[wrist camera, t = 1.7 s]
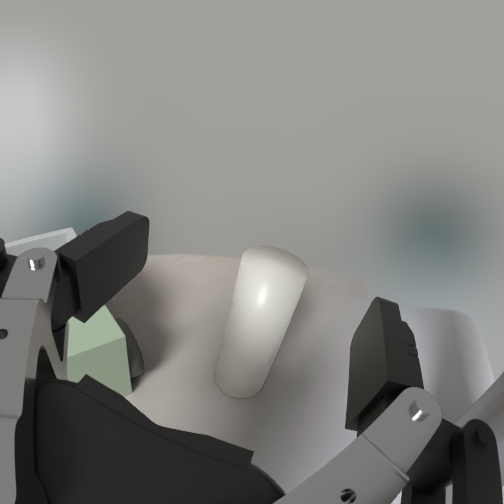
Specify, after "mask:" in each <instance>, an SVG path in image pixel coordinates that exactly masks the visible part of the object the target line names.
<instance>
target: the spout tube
mask: <svg viewBox="0 0 504 504" xmlns="http://www.w3.org/2000/svg"><path fill="white" fill-rule="evenodd" d="M308 275H309V271H308V268H307V266H306V264H305V263H304V262H303V261H302V260H301V259H300V258H298V257H297V256H295V255H294V254H292V253H290V252H288V251H285V250H282V249H280V248H276V247H270V246H256V247H252V248H249V249H248V250H246V251H245V252H244V253H243V255H242V259H241V263H240V267H239V271H238V276H237V280H236V284H235V288H234V293H233V297H232V301H231V305H230V310H229V314H228V318H227V322H226V327H225V331H224V335H223V340H222V344H221V348H220V353H219V357H218V361H217V366H216V370H215V381H216V384H217V386H218V387H219V388H220V389H221V390H222V391H223V392H224V393H226V394H227V395H229V396H232V397H235V398H249V397H252V396H254V395H256V394H257V393H258V392H259V391H260V390H261V389H262V386H263V384H264V382H265V380H266V377H267V375H268V373H269V371H270V368H271V366H272V364H273V361H274V359H275V357H276V354H277V352H278V350H279V347H280V345H281V343H282V340H283V338H284V336H285V333H286V331H287V328H288V326H289V323H290V321H291V318H292V316H293V314H294V311H295V309H296V306H297V303H298V301H299V298H300V296H301V293H302V291H303V288H304V286H305V283H306V280H307V278H308Z"/></svg>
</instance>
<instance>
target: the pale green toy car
mask: <svg viewBox="0 0 504 504" xmlns="http://www.w3.org/2000/svg"><path fill="white" fill-rule="evenodd" d="M75 237H77V236H76V234H75V232H74V230H73V228H67V229H63V230H58V231H54V232H50V233H45V234H41V235H37V236H33V237H29V238H25V239H20V240H17V241H13V242H9V243H5V248H6V253H7V254H10V255H14V256H19V255H20V254H21V253H23V252H24V251H26V250H29V249H32V248H38V247H43V248H48V249H51V250H53V251H55V250H56V249H58V248H59V247H61V246H63V245H64V244H66V243H67V242H69V241H71V240H72V239H74V238H75ZM68 323H69V336H68V351H67V377H68V380H69V381H73V382H77V383H78V382H79V381H80V380H81V379H82V378H83V376H84V375H85V374H87V375H89V376H90V377H92V378H94V379H95V380H97V381H99V382H100V383H102V384H104V385H105V386H107V387H109V388H110V389H112V390H114V391H116V392H118V393H119V394H121V395H122V396H123V397H124V396H126V395H128V394H130V393H132V387H131V380H130V379H132V378H134V377H136V376H139V375H141V374H143V373H144V363H143V359H142V355H141V352H140V350H139V347H138V345H137V342H136V340H135V338H134V336H133V334H132V332H131V330H130V329H129V327H128V326H127V324H126V323H125V322H124V321H123V320H122V319H120V318H118V319H115V320H114V318H113V316H112V315H111V313H110V312H109V310H108V308H107V307H106V305H105V304H104V305H103V306H102V307H101V308H100V309H99V310H98V311H97V312H96V313H95V314H94V315H93V316H92V317H91V318H90V319H89V320H88V321H87V322H86V323H83V322H81V321H79V320H78V319H76V318H74V317H73V316H72V317H71V318H70V319H69V320H68Z"/></svg>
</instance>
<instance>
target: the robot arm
mask: <svg viewBox="0 0 504 504" xmlns="http://www.w3.org/2000/svg"><path fill="white" fill-rule="evenodd" d="M148 236H149V219H148V218H147V217H146V216H142V215H140V214H137V213H134V212H131V211H127V212H125V213H123V214H122V215H120V216H118V217H116V218H115V219H113V220H109V221H105V222H102V223H99V224H97V225H96V226H94V227H92V228H90V230H87V231H85V232H84V233H82V235H79V236H77V237H75V238H74V239H72V240H71V241H69V242H67V243H66V244H64V245H63V246H61V247H59V248H58V249H56V250H55V251H53V250H51V249H48V248H43V247H38V248H32V249H29V250H26V251H24V252H23V253H21V254H20V255H19V256H14V255H10V254H7V253H6V248H5V243H4V240H3V239H1V238H0V504H391V503H392V501H393V500H394V499H395V498H396V497H397V495H398V494H399V493H400V492H401V490H402V497H401V504H503V498H502V486H504V372H503V373H502V374H501V375H500V377H499V378H498V379H497V380H496V381H495V382H494V383H493V384H492V385H491V387H490V388H489V389H488V390H487V391H486V392H485V393H484V394H483V395H482V396H481V397H480V398H479V399H478V400H477V401H476V402H475V403H474V404H473V405H472V406H471V407H470V408H469V409H468V410H467V411H466V412H465V413H464V414H462V415H461V416H460V417H459V418H458V419H457V420H456V421H455V422H454V423H453V424H452V423H450V422H449V421H447V420H445V419H443V418H442V411H441V407H440V405H439V403H438V401H437V400H436V399H435V397H434V396H433V395H431V394H430V393H429V392H427V391H426V390H424V385H423V379H422V374H421V368H420V363H419V358H417V357H418V352H417V348H416V343H415V338H414V334H413V332H412V331H411V329H410V328H409V326H408V324H407V323H406V322H404V321H401V316H400V311H399V306H398V304H397V303H394V302H391V301H389V300H386V299H383V298H380V297H376V298H375V299H374V300H373V301H372V303H371V305H370V307H369V309H368V310H367V312H366V314H365V316H364V318H363V319H362V321H361V323H360V325H359V326H358V328H357V330H356V332H355V334H354V336H353V339H352V342H351V347H350V366H349V385H348V400H347V412H346V423H345V429H349V430H354V431H357V438H356V439H355V440H354V441H353V442H352V443H351V444H350V445H349V446H348V447H346V448H345V449H344V450H343V451H342V452H341V453H340V454H338V455H337V456H336V457H335V458H334V459H332V460H331V461H330V462H329V463H328V464H326V465H325V466H324V467H323V468H321V469H320V470H319V471H318V472H316V473H315V474H314V475H312V476H311V477H310V478H308V479H307V480H306V481H304V482H303V483H302V484H300V485H299V486H298V487H296V488H295V489H293V490H292V491H291V492H289V493H288V494H286V495H285V493H284V492H283V490H282V489H281V488H280V486H279V485H278V484H277V483H276V482H275V481H274V480H273V479H272V478H271V477H270V476H269V475H268V474H267V473H265V472H264V471H262V470H261V469H260V468H258V467H257V466H255V465H253V464H252V463H250V462H251V459H252V456H253V453H254V451H251V450H247V449H244V448H241V447H238V446H236V445H233V444H230V443H227V442H224V441H222V440H219V439H216V438H214V437H211V436H208V435H203V434H197V433H191V432H186V431H181V430H176V429H171V428H167V427H162V426H159V425H157V424H155V423H154V422H152V421H151V420H150V419H149V418H147V417H146V416H145V415H144V414H143V413H141V412H140V411H139V410H138V409H137V408H136V407H134V406H133V405H132V404H131V403H130V402H129V401H128V400H127V399H125V398H124V397H123V396H122V395H121V394H119V393H118V392H116V391H114V390H112V389H110V388H109V387H107V386H105V385H104V384H102V383H100V382H99V381H97V380H95V379H94V378H92V377H90V376H89V375H87V374H85V375H84V376H83V378H82V379H81V380H80V381H79V382H78V383H77V382H73V381H69V380H68V377H67V351H68V336H69V323H68V320H69V319H70V318H71V317H72V316H73V317H74V318H76V319H78V320H79V321H81V322H83V323H86V322H87V321H88V320H89V319H90V318H91V317H92V316H93V315H94V314H95V313H96V312H97V311H98V310H99V309H100V308H101V307H102V306H103V305H104V304H106V303H107V302H108V301H109V300H110V299H111V298H112V297H113V296H114V295H115V294H116V293H117V292H119V291H120V290H121V289H122V288H123V287H124V286H125V285H126V284H127V283H128V282H129V281H131V280H132V279H133V278H134V277H135V276H136V275H137V274H138V273H139V272H140V271H141V270H142V269H143V267H144V265H145V263H146V260H147V252H148Z"/></svg>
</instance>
